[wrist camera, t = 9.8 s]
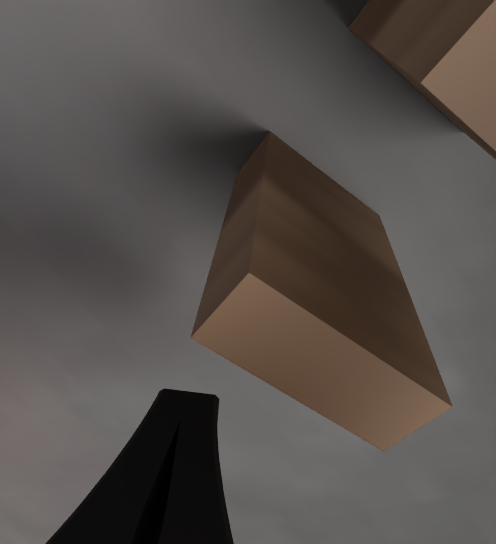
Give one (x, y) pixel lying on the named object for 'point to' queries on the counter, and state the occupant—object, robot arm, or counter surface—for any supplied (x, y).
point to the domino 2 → (441, 55)
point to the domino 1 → (318, 301)
